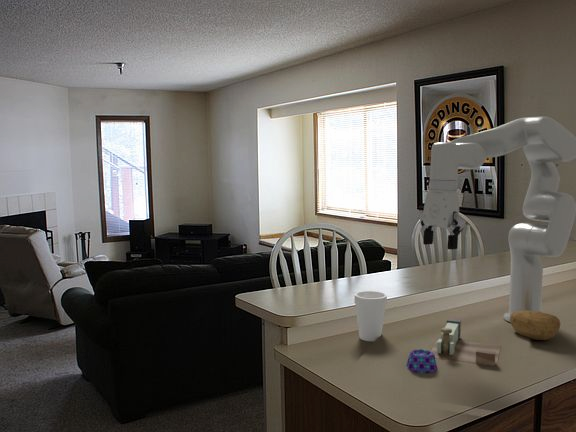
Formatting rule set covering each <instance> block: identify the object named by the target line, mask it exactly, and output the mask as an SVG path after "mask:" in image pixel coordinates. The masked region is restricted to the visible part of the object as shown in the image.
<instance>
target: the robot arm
mask: <svg viewBox="0 0 576 432" xmlns="http://www.w3.org/2000/svg"><path fill="white" fill-rule="evenodd" d="M520 148H523V153H524V155H525V158H526V160H527V163H528V164H529V168H530V173H531V174H530V175H531V177H530V180H529V185H528V188H527V191H526V195H525V197H524V201H523V205H522V214H523V217H525V218H526V219H529V220H532V221H538V222H543V223H545V222H546V223H548V224H547V225H546V224H539V223H531V222H520V223H517V224H514V225H513V226H512V227H511V228H510V229H509V232H508V245H509V252H510V279H509V303H508V307H509V308H508V312H505V313H504V314H503V320H505V321H506V322H509V323H510V316H511V314H513V313H514V312H516V311H520V310H526V311H539V312H542V301H543V300H542V297H543V277H544V275H543V274H544V266H543V263H542V262H543V261H542V260H541V257H548V258H557V257H560V256H561V255H562V254H563V253H564V252H565V250H566V248H567V245H568V242H569V239H570V235H571V232H572V228H573V226H574V223H575V218H576V201H575V198H574V197H573V196H572V195H570V194H568V193H566V192H558V189H559V186H560V182H561V181H560V180H561V177H560V174H559V171H558V168H557V167H556V166H555V164H554V163H556V162H557V163H568V162H571V161H573V160H574V159H575V158H576V136H575V135H574V133H572V132H571V131H570V130H568V129H567V128H566V127H564V126H563V125H562V124H561V123H560V122H558V121H556V120H555V119H554V118H552V117H550V116H545V115H544V116H529V117H528V116H527V117H521V118H517V119H514V120H512V121H508V122H507V123H505V124H501V125H499V126H496V127H494V128H490V129H487V130H483V131H482V130H481V131H480V132H477V133H473V134H468V135H465V136H461V137H458V138H454V139H453V140H451V141H448V142H446V141H445V142H442V141H440V142H435V143H433V144H432V146H431V152H430V171H429V172H430V173H429V174H430V175H429V182H428V186H429V187H428V189H429V190H427V192H426V195H425V198H424V205H423V212H421V213H420V214H419V215H418V218H419V221H420V226H421V227H422V231H423V241H422V242H423V243H422V244H423V245H426V246H427V245H432V244H434V230H433V229H434V228H435V227H437V228H444V229H445V228H446V229H447V231H448V232H449V233H448V235H447V246H446V247H447V248H446V249H448V250H457V249H458V246H459V245H458V244H459V236H460V235H461V232H463V230H464V227H465V225H466V223H467V220H466V219H464V218H463V217H462V216H461V215H460V199H459V193H458V177H459V176H458V175H459V170H475V169H478V168H480V167H482V166H483V164H484V163H485V162H486V160H487V159H488V158H496V157H501V156H505V155H507V154H510V153H511V152H513V151H516V150H519V149H520ZM486 158H487V159H486ZM540 256H541V257H540Z"/></svg>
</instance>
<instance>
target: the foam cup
mask: <svg viewBox="0 0 576 432" xmlns="http://www.w3.org/2000/svg"><path fill="white" fill-rule="evenodd" d="M387 297H388V295H387V293H385V292H382V291H376V290H363V291H362V290H361V291H357V292H355V293H354V304H355V312H356V321H357V329H358V335H359V339H360V340H363V341H366V342H376V341H377V340H378V338H379V337H381V336H382V333H383V327H384V319H385V315H386V313H385V311H386V306H387V303H388V300H387V299H388V298H387Z"/></svg>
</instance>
